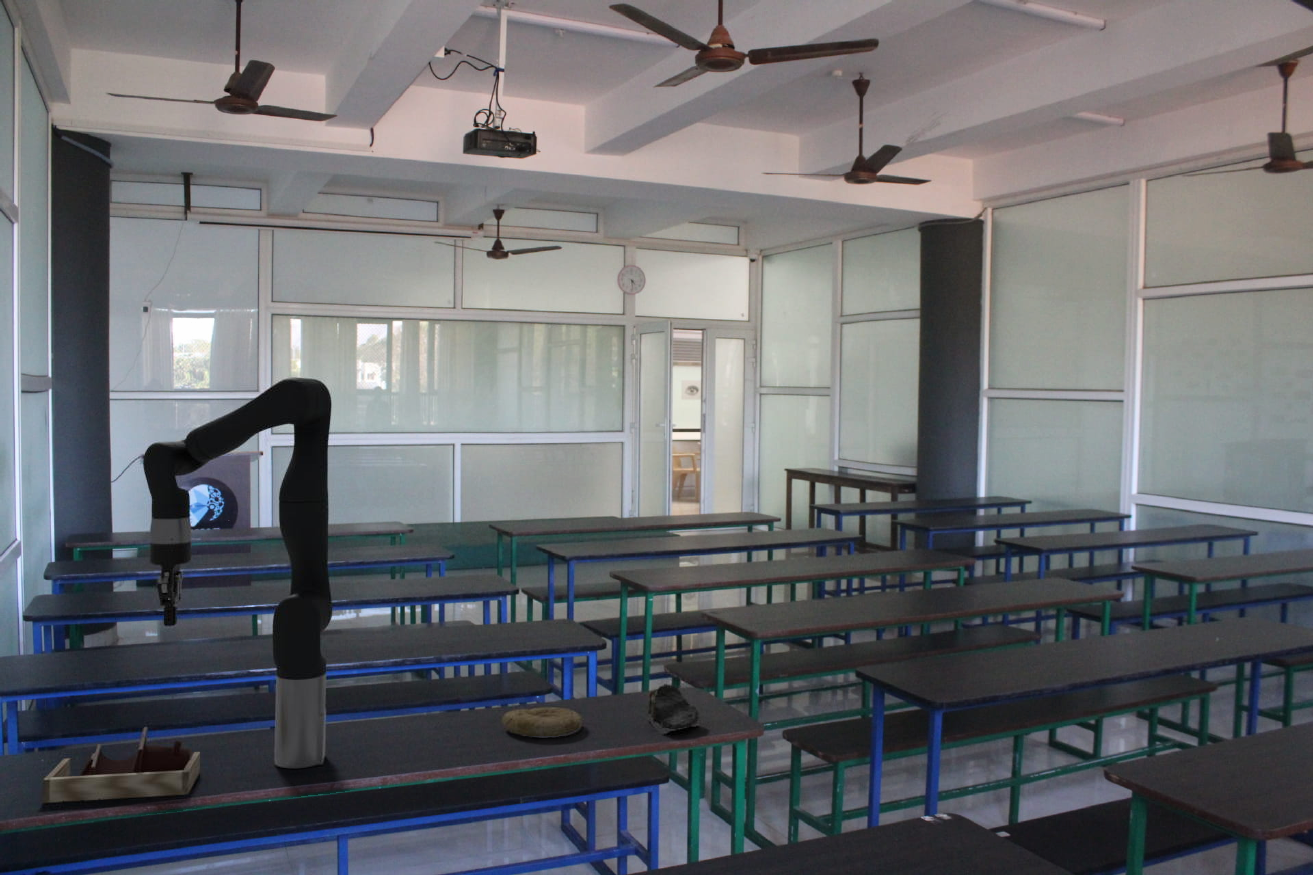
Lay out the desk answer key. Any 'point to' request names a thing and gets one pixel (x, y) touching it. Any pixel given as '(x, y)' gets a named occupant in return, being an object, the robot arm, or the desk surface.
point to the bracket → (140, 760)
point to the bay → (118, 783)
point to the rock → (671, 708)
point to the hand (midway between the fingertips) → (170, 624)
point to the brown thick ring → (542, 721)
